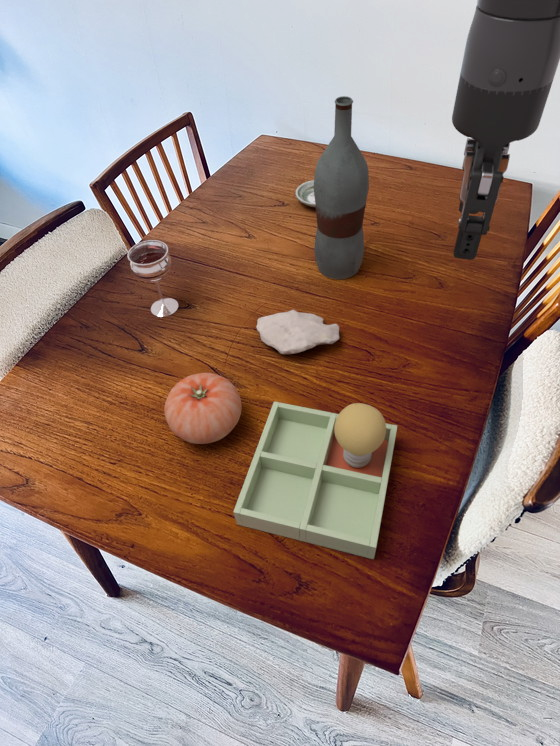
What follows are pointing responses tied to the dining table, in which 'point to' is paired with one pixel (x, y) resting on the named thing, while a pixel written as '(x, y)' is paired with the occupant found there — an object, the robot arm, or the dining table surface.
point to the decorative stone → (295, 331)
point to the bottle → (340, 199)
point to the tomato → (203, 408)
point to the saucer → (306, 193)
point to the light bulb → (359, 433)
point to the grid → (314, 483)
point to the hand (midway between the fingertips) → (466, 233)
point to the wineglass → (153, 271)
